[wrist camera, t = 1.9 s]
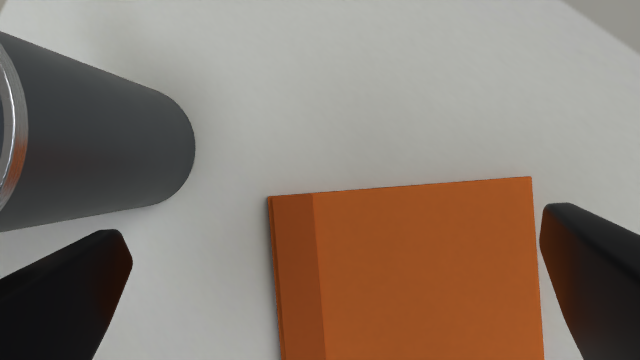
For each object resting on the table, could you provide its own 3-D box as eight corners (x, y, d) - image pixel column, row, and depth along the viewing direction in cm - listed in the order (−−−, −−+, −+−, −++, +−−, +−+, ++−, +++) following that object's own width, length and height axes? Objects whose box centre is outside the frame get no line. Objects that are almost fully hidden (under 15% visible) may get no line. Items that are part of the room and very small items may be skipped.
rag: (541, 363, 22) (547, 369, 21) (283, 372, 23) (281, 378, 23) (528, 176, 22) (534, 176, 21) (268, 196, 23) (266, 197, 22)
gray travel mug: (218, 182, 23) (52, 199, 11) (107, 228, 24) (-173, 295, 11) (146, 2, 23) (-102, -193, 11) (37, 53, 24) (-317, -74, 11)
